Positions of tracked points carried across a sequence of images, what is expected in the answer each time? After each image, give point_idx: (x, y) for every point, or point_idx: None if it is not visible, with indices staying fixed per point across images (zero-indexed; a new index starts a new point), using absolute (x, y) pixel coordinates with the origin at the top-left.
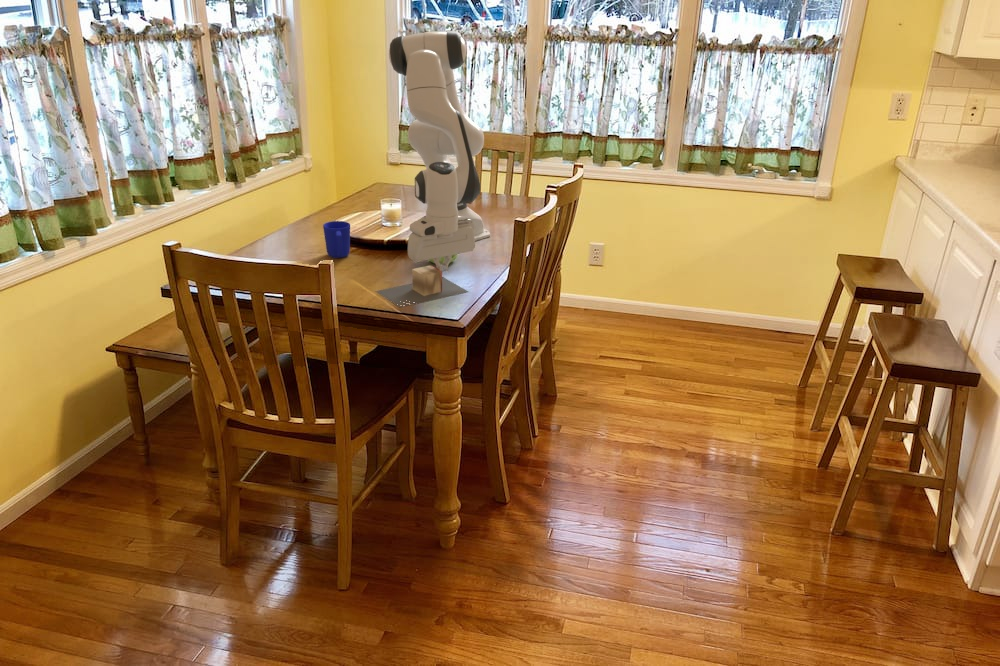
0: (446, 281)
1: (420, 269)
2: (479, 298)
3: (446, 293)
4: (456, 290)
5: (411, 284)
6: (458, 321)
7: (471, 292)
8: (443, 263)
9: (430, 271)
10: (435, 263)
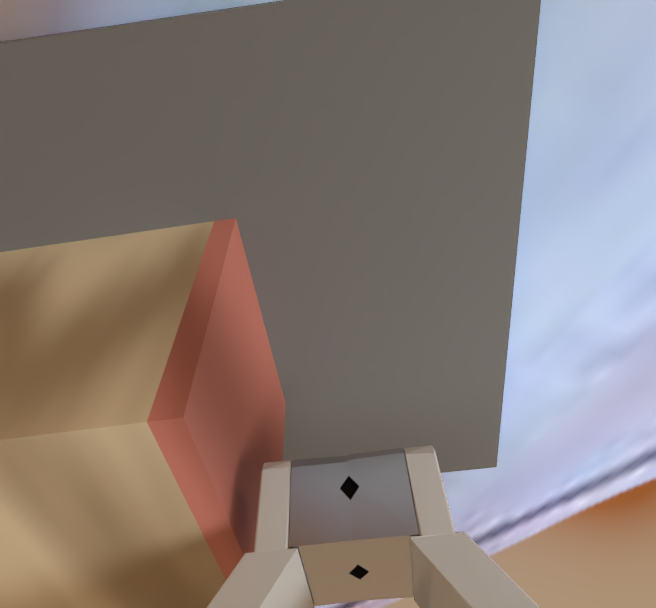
0: (474, 180)
1: None
2: (495, 534)
3: (305, 442)
4: (421, 419)
5: None
6: None
7: (521, 451)
8: (414, 540)
9: (108, 596)
10: (225, 602)
